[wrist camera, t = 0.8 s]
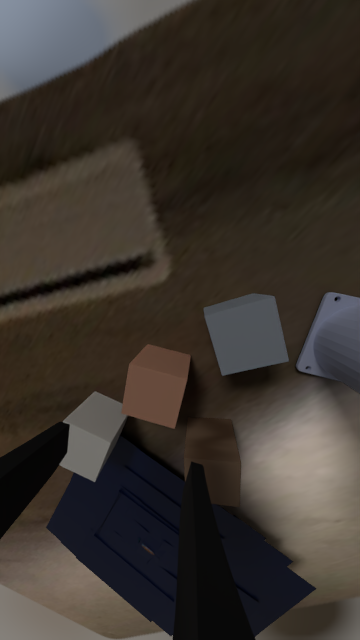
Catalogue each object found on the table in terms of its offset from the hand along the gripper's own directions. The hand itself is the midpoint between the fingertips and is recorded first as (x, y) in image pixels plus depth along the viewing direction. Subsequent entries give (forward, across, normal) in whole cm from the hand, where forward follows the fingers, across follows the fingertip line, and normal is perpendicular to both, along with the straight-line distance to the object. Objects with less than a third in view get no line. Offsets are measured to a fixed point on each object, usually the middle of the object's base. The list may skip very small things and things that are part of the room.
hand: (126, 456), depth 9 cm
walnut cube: (+10, -7, +7) cm, 14 cm away
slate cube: (+10, -6, -7) cm, 14 cm away
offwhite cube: (+10, +6, +8) cm, 14 cm away
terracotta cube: (+10, 0, 0) cm, 10 cm away
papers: (+10, -4, +24) cm, 27 cm away
